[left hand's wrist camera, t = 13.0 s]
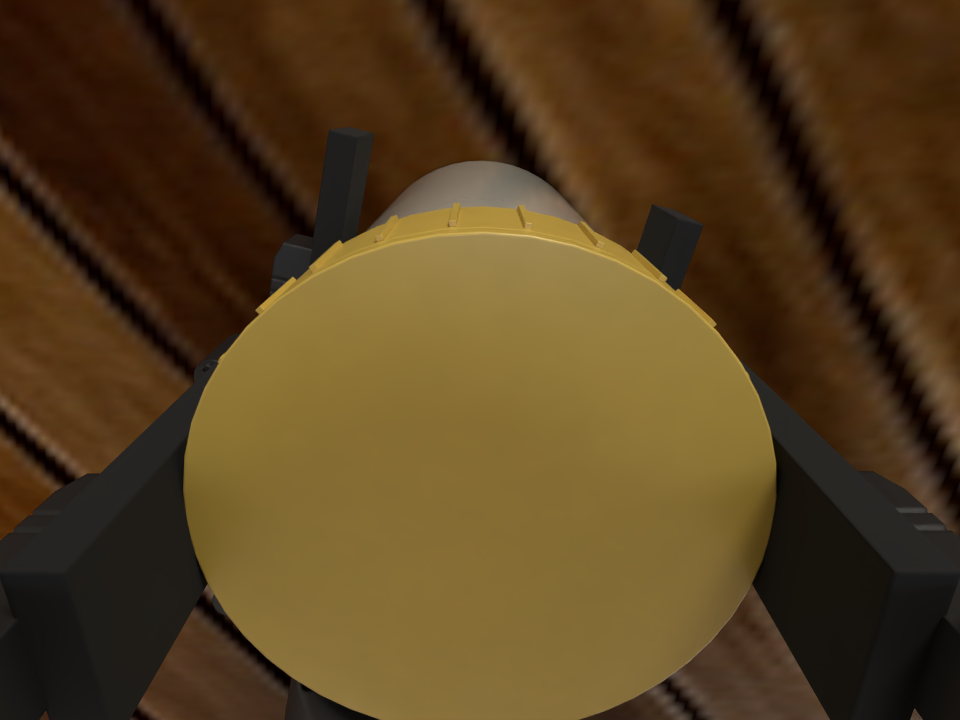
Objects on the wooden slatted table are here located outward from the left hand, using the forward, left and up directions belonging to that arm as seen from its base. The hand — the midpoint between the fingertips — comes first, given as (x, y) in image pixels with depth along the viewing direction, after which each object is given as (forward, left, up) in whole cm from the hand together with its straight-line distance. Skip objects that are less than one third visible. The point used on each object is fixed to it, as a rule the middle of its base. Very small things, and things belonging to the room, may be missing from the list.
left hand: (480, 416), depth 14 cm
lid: (0, 0, +3) cm, 3 cm away
